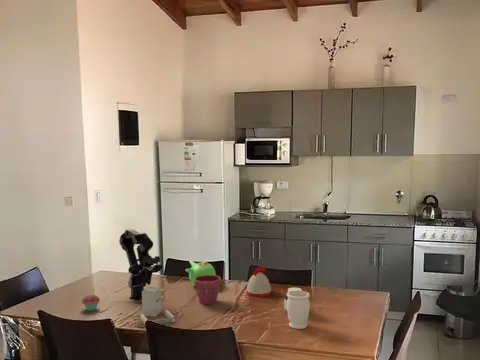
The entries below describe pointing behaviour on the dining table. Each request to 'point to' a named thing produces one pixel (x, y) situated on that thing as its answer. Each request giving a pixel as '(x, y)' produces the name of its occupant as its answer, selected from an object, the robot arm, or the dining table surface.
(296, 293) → the jar
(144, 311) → the supplement box
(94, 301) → the cupcake
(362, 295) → the dining table surface
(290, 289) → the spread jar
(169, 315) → the bay
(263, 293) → the chicken egg cooker
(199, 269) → the toy bird
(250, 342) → the dining table surface
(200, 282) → the plant pot
